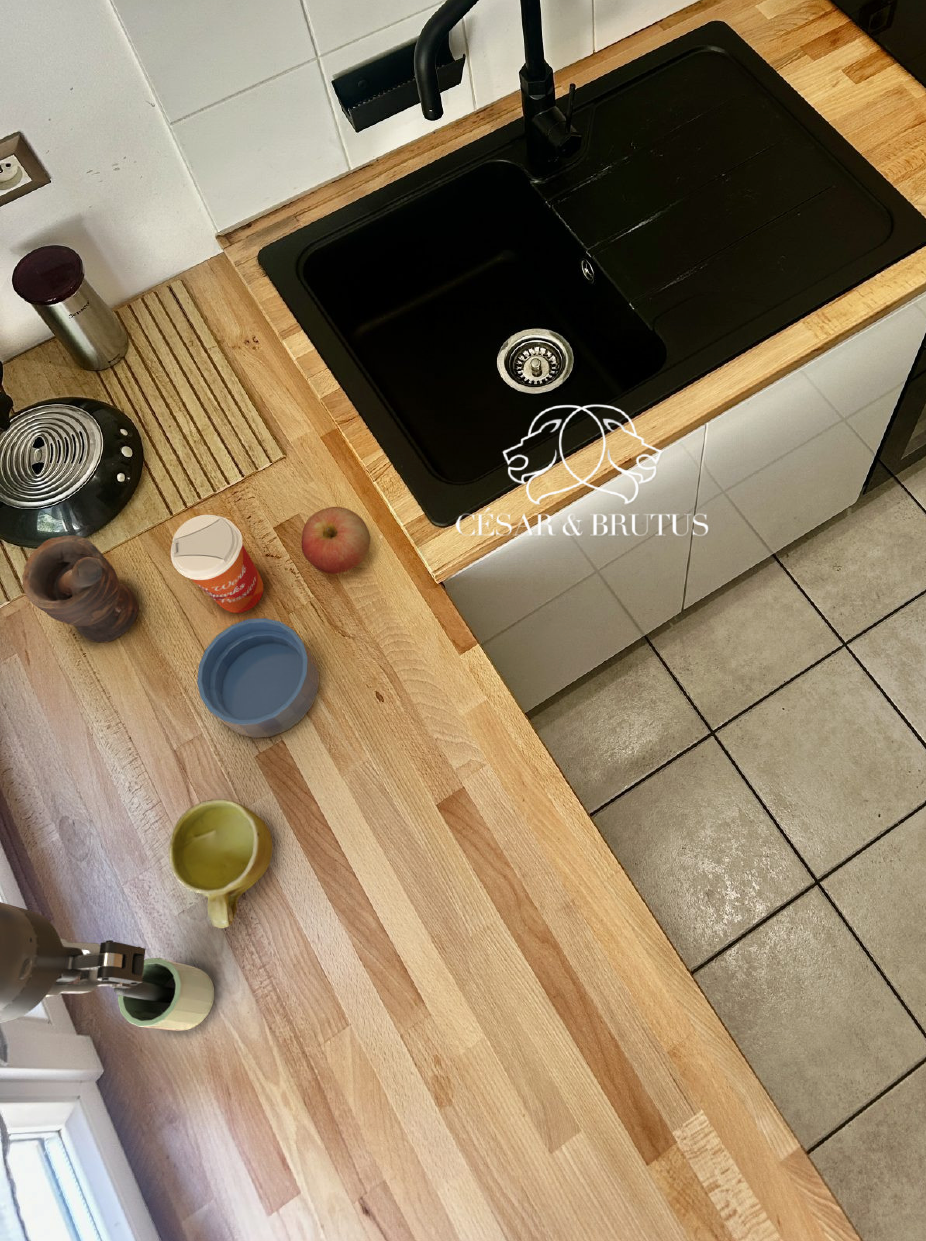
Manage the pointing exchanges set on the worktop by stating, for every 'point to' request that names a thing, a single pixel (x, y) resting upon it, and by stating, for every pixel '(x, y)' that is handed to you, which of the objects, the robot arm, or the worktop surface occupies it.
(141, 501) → the worktop surface
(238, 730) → the bowl
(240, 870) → the mug
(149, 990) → the black pestle
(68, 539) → the mortar and pestle
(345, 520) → the apple
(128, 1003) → the utensil jar
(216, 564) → the paper cup
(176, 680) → the worktop surface
